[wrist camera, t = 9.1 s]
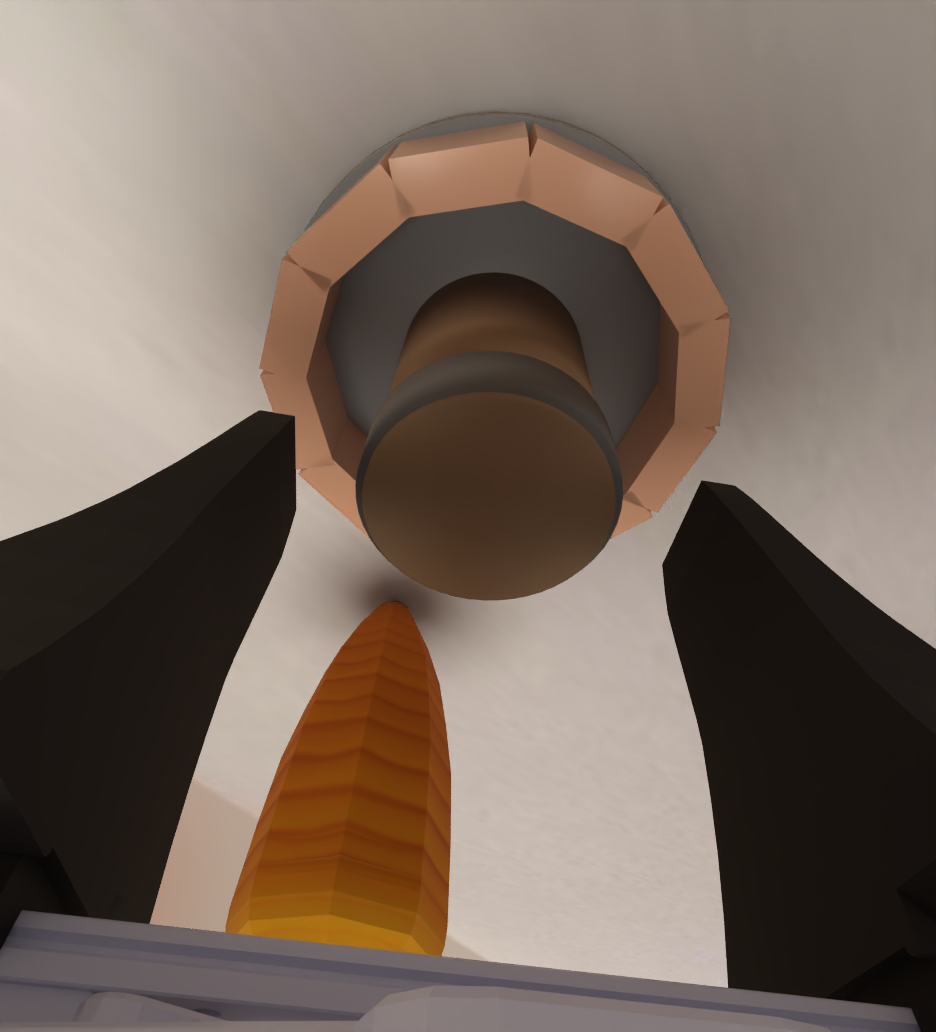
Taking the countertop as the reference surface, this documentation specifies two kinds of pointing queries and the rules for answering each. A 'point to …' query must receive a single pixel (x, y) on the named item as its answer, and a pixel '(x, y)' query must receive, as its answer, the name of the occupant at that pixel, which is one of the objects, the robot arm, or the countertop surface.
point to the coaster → (504, 249)
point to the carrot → (359, 805)
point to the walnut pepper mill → (490, 446)
